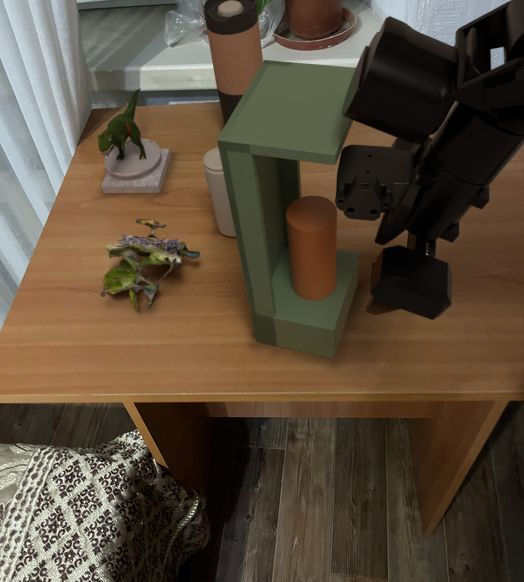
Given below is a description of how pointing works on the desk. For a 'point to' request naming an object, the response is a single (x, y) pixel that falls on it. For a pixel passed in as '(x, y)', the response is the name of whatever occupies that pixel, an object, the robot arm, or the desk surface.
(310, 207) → the tea tin
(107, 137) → the dinosaur figurine
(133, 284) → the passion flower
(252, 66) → the travel mug
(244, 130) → the green c-shaped stand
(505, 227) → the desk surface
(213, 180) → the beverage can
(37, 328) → the desk surface
